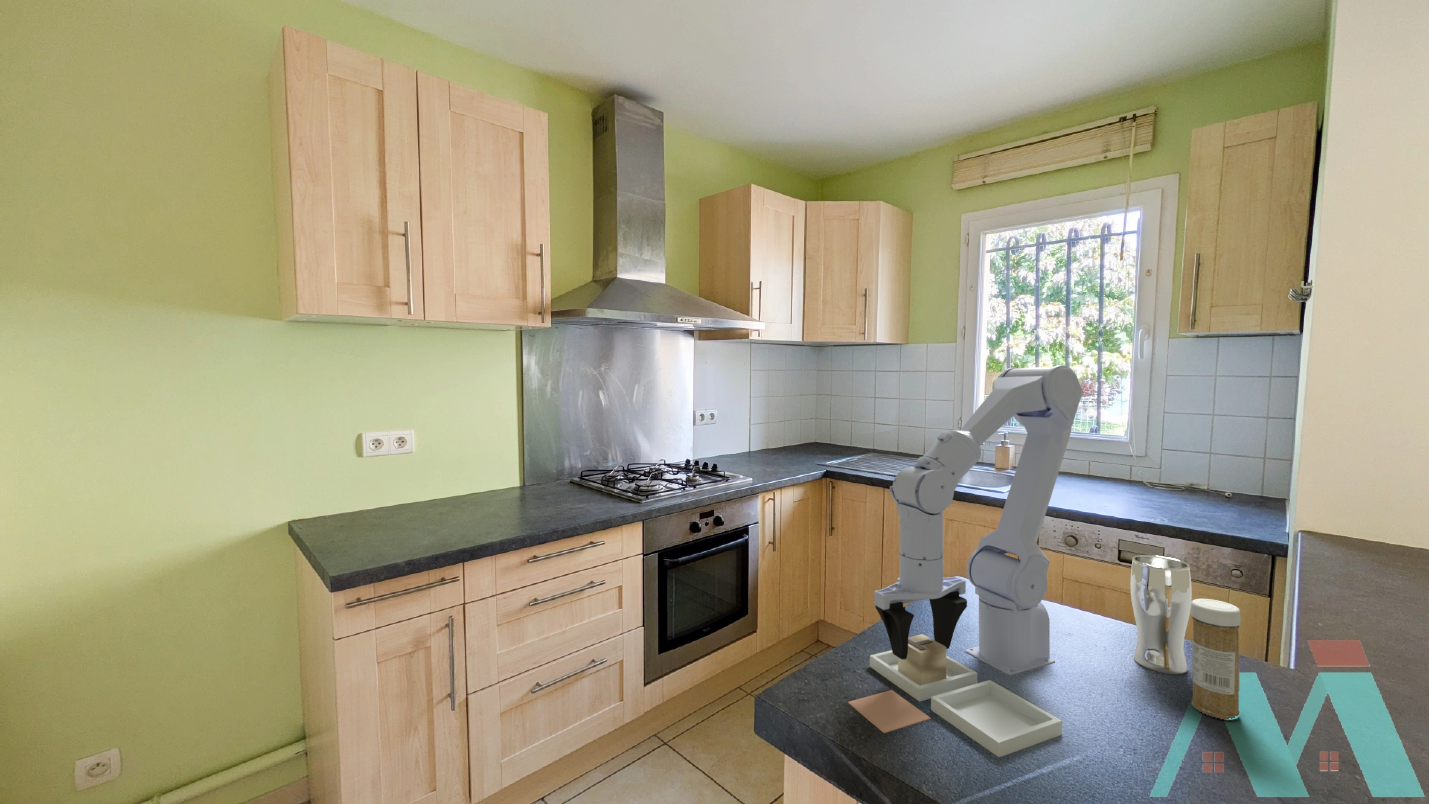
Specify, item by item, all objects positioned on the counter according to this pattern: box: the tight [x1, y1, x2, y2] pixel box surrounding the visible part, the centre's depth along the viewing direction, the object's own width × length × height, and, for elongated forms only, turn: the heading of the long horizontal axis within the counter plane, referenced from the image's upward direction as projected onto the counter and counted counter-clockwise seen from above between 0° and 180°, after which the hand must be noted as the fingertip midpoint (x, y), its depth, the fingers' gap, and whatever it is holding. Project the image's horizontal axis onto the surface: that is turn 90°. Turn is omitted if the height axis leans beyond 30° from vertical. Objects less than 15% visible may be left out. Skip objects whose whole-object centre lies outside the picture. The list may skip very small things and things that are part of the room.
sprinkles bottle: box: [1190, 598, 1242, 720], centre depth 70 cm, size 5×5×14 cm
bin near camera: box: [930, 679, 1063, 758], centre depth 68 cm, size 10×10×2 cm
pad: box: [847, 689, 932, 734], centre depth 71 cm, size 7×7×1 cm
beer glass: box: [1129, 554, 1193, 675], centre depth 82 cm, size 7×7×15 cm
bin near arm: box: [869, 649, 979, 702], centre depth 79 cm, size 10×10×2 cm
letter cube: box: [898, 633, 947, 686], centre depth 79 cm, size 4×4×5 cm
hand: (921, 651), depth 79 cm, fingers open, 7 cm apart
